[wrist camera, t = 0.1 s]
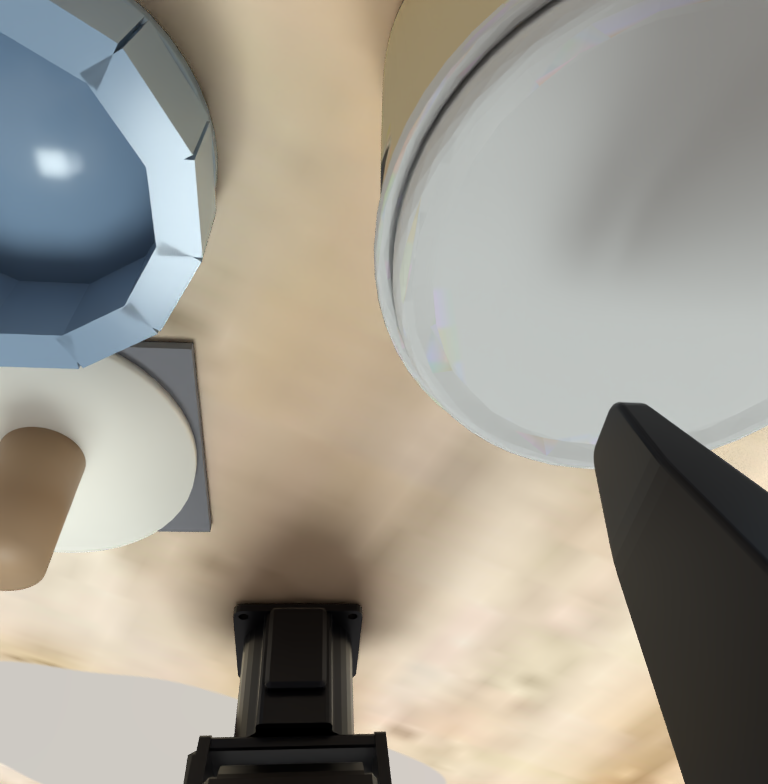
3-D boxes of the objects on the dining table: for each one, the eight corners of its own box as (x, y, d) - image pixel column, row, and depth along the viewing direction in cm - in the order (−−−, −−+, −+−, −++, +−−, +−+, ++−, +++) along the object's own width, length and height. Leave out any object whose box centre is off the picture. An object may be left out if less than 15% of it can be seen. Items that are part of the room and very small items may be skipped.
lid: (207, 542, 32) (188, 655, 28) (-63, 541, 31) (-127, 658, 26) (183, 330, 25) (153, 436, 20) (-169, 317, 24) (-281, 427, 19)
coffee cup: (288, 86, 20) (254, 305, 11) (536, -230, 16) (812, -308, 7) (501, 272, 25) (606, 543, 15) (738, 57, 21) (1079, 247, 11)
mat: (211, 524, 32) (210, 531, 32) (-70, 522, 31) (-74, 529, 30) (192, 342, 26) (191, 349, 25) (-160, 330, 24) (-167, 337, 24)
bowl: (227, 304, 25) (211, 373, 22) (-94, 291, 24) (-158, 361, 21) (205, -47, 18) (179, -22, 15) (-240, -87, 17) (-367, -69, 14)
